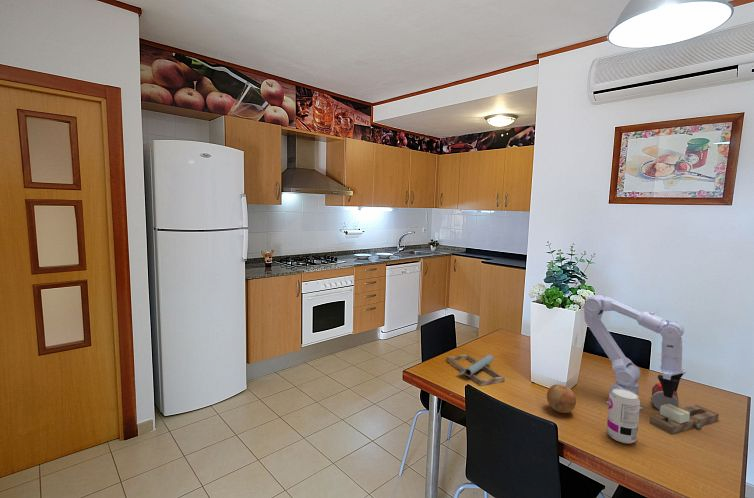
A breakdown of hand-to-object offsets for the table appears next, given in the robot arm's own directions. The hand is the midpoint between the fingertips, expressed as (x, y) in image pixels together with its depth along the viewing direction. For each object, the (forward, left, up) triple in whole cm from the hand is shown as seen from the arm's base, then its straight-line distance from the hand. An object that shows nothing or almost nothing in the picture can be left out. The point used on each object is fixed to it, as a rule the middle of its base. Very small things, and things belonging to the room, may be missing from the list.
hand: (670, 393), depth 131 cm
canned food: (+14, +10, -6) cm, 19 cm away
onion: (-33, +17, -10) cm, 38 cm away
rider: (-2, -3, -10) cm, 10 cm away
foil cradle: (-43, +57, -10) cm, 72 cm away
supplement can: (-27, -2, -10) cm, 29 cm away
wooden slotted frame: (+4, -3, -10) cm, 11 cm away
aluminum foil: (-42, +56, -8) cm, 71 cm away
